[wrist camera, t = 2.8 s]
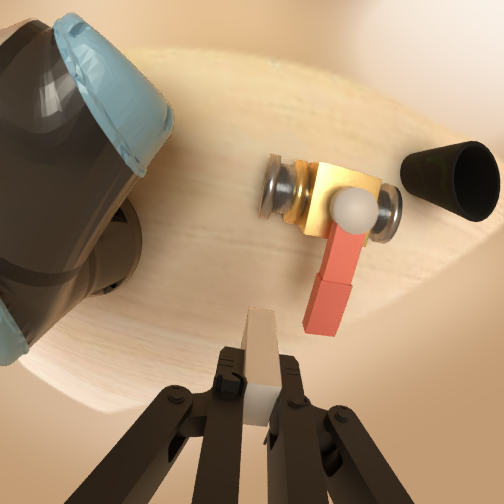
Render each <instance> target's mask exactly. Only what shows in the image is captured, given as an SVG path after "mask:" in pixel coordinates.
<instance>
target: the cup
mask: <svg viewBox="0 0 504 504" xmlns="http://www.w3.org/2000/svg"><path fill="white" fill-rule="evenodd" d="M400 176H401V181H402V184H403V186H404V187H405V189H406V190H407V191H408V192H409V193H410V194H412V195H414V196H417V197H419V198H422V199H424V200H426V201H429V202H431V203H433V204H435V205H438V206H440V207H442V208H444V209H446V210H448V211H451V212H453V213H455V214H457V215H459V216H461V217H463V218H465V219H467V220H469V221H473V222H479V221H483V220H484V219H486V218H487V217H488V216H489V215H490V214H491V213H492V212H493V210H494V208H495V207H496V204H497V201H498V199H499V193H500V174H499V169H498V166H497V163H496V160H495V158H494V156H493V154H492V153H491V152H490V150H489V149H488V148H487V147H486V146H485V145H483V144H482V143H479V142H477V141H468V142H463V143H458V144H454V145H449V146H444V147H439V148H435V149H430V150H426V151H422V152H417V153H413V154H410V155H409V156H407V157H406V158H405V159H404V161H403V163H402V165H401V170H400Z"/></svg>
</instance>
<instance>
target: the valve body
mask: <svg viewBox="0 0 504 504" xmlns="http://www.w3.org/2000/svg"><path fill="white" fill-rule="evenodd" d="M381 181H382V179H379V178H376V177H373V176H369V175H366V174H363V173H359V172H356V171H352V170H349V169H345V168H342V167H338V166H334V165H330V164H326V163H322V162H314V163H308V162H306V161H302V160H296V161H295V163H294V165H293V166H289V165H284V164H281V156H279V155H274V154H270V158H269V161H268V166H267V170H266V175H265V180H264V185H263V190H262V195H261V201H260V207H259V214H258V217H261V218H266V219H269V217H270V214H271V212H276V213H281V214H283V220H284V222H286V223H291V224H295V223H297V225H298V226H299V228H300V229H301V230H302V232H303V233H304V234H307V235H312V236H317V237H321V238H326V239H328V237H329V233H330V229H331V225H332V221H333V220H332V218H331V215H330V202H331V199H332V197H333V195H334V194H335V193H336V192H337V191H338V190H340V189H341V188H344V187H349V186H351V187H357V188H362V189H365V190H367V191H369V192H370V193H371V194H372V195H373V196H374V197H375V199H376V201H377V204H378V217H377V220H376V222H375V224H374V226H373V227H372V228H371V229H370V230H369V231H367V232H366V233H365V237H364V241H363V244H362V246H363V247H366V243H367V239H368V236H369V237H370V239H371V240H372V241H374V242H378V243H387V242H388V241H390V240H391V239H392V237H393V236H394V234H395V233H396V231H397V229H398V226H399V223H400V220H401V215H402V197H401V193H400V191H399V189H398V188H397V187H395V186H392V185H389V184H382V185H381Z"/></svg>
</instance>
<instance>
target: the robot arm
mask: <svg viewBox="0 0 504 504" xmlns="http://www.w3.org/2000/svg"><path fill="white" fill-rule="evenodd" d="M173 127H174V113H173V110H172V107H171V105H170V104H169V102H168V101H167V100H166V99H165V98H164V96H163V95H162V94H161V93H160V92H159V91H158V90H157V89H156V87H155V86H154V85H153V84H152V83H151V82H150V81H149V80H148V79H147V78H146V77H145V76H144V75H143V74H142V73H141V72H140V71H139V70H138V69H137V68H136V67H135V66H134V65H133V64H132V63H131V62H130V61H129V60H128V59H127V58H126V57H125V56H124V55H123V54H122V53H121V52H120V51H119V50H118V49H117V48H116V47H114V46H113V45H112V44H111V43H110V42H109V41H108V40H107V39H106V38H105V37H103V36H102V35H101V34H100V33H99V32H98V31H96V30H95V29H94V28H92V27H91V26H90V25H89V24H87V23H86V22H85V21H84V20H83V19H82V18H81V17H80V16H79V15H77V14H75V13H68V14H66V15H65V16H63V17H62V18H60V19H57V21H56V22H55V23H54V25H53V28H51V27H49V26H48V25H46V24H44V23H42V22H41V21H39V20H38V19H35V18H29V19H26V20H24V21H21V22H19V23H17V24H14V25H12V26H10V27H8V28H5V29H1V28H0V366H7V365H10V364H12V363H13V362H14V361H15V360H17V359H18V358H19V357H20V356H22V355H23V354H27V353H28V352H29V348H30V347H31V346H32V345H33V344H34V343H36V342H37V341H38V340H39V339H40V338H41V337H42V336H43V335H44V334H45V333H46V332H47V331H48V330H49V329H50V328H52V327H53V326H54V325H55V324H56V323H57V322H58V321H59V320H60V319H61V318H62V317H64V316H65V315H66V314H67V313H68V312H69V311H70V310H71V309H73V308H74V307H75V306H76V305H77V304H78V303H79V302H80V301H82V300H83V299H84V298H89V297H94V296H98V295H103V294H107V293H110V292H112V291H114V290H115V289H117V288H118V287H120V286H121V285H122V284H123V283H124V282H125V281H126V280H127V279H128V278H129V277H130V276H131V275H132V273H133V272H134V270H135V269H136V267H137V264H138V262H139V258H140V254H141V247H142V237H141V229H140V225H139V221H138V218H137V215H136V213H135V211H134V209H133V207H132V205H131V204H130V202H129V201H128V199H127V198H126V197H127V195H128V194H129V193H130V191H131V190H132V189H133V187H134V186H135V184H136V183H137V182H138V180H139V179H140V178H143V177H144V176H145V175H146V173H147V167H148V165H149V164H150V162H151V161H152V160H153V158H154V157H155V155H156V154H157V152H158V151H159V150H160V148H161V147H162V146H163V144H164V143H165V142H166V140H167V139H168V138H169V136H170V134H171V132H172V130H173ZM299 370H300V369H299V363H298V361H297V360H296V359H295V358H294V356H289V355H281V354H279V352H278V343H277V333H276V323H275V314H274V311H270V310H264V309H259V308H253V307H249V310H248V315H247V320H246V325H245V329H244V334H243V339H242V343H241V349H238V348H232V347H227V346H225V347H224V348H223V349H222V350H221V351H220V355H219V360H218V365H217V370H216V375H215V377H214V382H213V387H212V388H211V389H210V390H208V391H207V392H204V393H194V394H192V393H191V392H190V391H189V390H188V389H187V388H185V387H182V386H179V385H171V386H167V387H165V388H164V389H163V390H162V391H161V392H160V393H159V394H158V395H157V397H156V398H155V399H154V400H153V401H152V403H151V404H150V405H149V406H148V407H147V408H146V410H145V411H144V412H143V413H142V415H141V416H140V417H139V418H138V419H137V420H136V421H135V423H134V424H133V425H132V426H131V427H130V429H129V430H128V431H127V432H126V433H125V435H124V436H123V437H122V438H121V439H120V440H119V441H118V443H117V444H116V445H115V446H114V447H113V448H112V450H111V451H110V452H109V453H108V454H107V455H106V456H105V458H104V459H103V460H102V461H101V462H100V463H99V464H98V466H97V467H96V468H95V469H94V470H93V471H92V473H91V474H90V475H89V476H88V477H87V478H86V479H85V481H84V482H83V483H82V484H81V485H80V486H79V487H78V488H77V489H76V491H75V492H74V493H73V494H72V495H71V496H70V497H69V498H68V500H67V501H66V502H65V503H64V504H148V502H149V501H150V499H151V498H152V496H153V495H154V493H155V492H156V490H157V489H158V487H159V486H160V484H161V483H162V481H163V479H164V478H165V476H166V475H167V473H168V471H169V470H170V468H171V467H172V465H173V464H174V462H175V460H176V459H177V457H178V456H179V454H180V452H181V451H182V449H183V447H184V446H185V444H186V443H187V441H188V439H189V437H201V436H203V442H202V448H201V453H200V459H199V464H198V470H197V475H196V481H195V486H194V493H193V498H192V503H191V504H238V493H239V477H240V459H241V442H242V425H243V424H247V425H256V426H265V427H266V426H267V425H268V423H269V421H270V423H269V425H270V428H269V431H268V433H267V435H266V438H265V440H264V445H266V443H267V471H268V504H329V501H328V495H327V491H328V493H329V495H330V497H331V499H332V501H333V503H334V504H414V502H413V501H412V499H411V498H410V496H409V495H408V493H407V492H406V490H405V489H404V487H403V486H402V484H401V483H400V481H399V480H398V478H397V477H396V475H395V473H394V472H393V470H392V469H391V467H390V466H389V464H388V463H387V461H386V460H385V458H384V457H383V455H382V454H381V452H380V451H379V449H378V448H377V446H376V445H375V443H374V441H373V440H372V438H371V437H370V435H369V434H368V432H367V431H366V429H365V428H364V426H363V425H362V423H361V422H360V420H359V419H358V417H357V416H356V414H355V413H354V412H353V411H352V410H351V409H350V408H348V407H345V406H342V405H336V406H333V407H331V408H330V409H329V411H328V410H324V409H321V408H317V407H315V406H313V405H312V404H311V402H310V400H309V399H308V398H307V397H306V396H305V395H304V390H303V385H302V379H301V376H300V375H301V374H300V371H299Z"/></svg>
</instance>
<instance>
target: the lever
mask: <svg viewBox="0 0 504 504" xmlns="http://www.w3.org/2000/svg"><path fill="white" fill-rule="evenodd" d="M330 215H331V218H332V220H333V221H332V225H331V229H330V233H329V237H328V241H327V245H326V249H325V253H324V257H323V261H322V264H321V268H320V272H319V273H317V274H316V278H315V282H314V285H313V289H312V292H311V296H310V299H309V302H308V306H307V309H306V312H305V316H304V319H303V322H302V323H303V327H304V331H305V333H308V334H316V335H324V336H333V337H335V335H336V332H337V330H338V327H339V324H340V321H341V319H342V316H343V313H344V310H345V307H346V304H347V301H348V298H349V295H350V292H351V289H352V285H351V282H352V278H353V275H354V272H355V269H356V265H357V262H358V259H359V255H360V252H361V248H362V244H363V241H364V237H365V233H366V232H367V231H369V230H370V229H371V228H372V227H373V226H374V224H375V222H376V220H377V217H378V204H377V201H376V199H375V197H374V196H373V195H372V194H371V193H370V192H369V191H367V190H365V189H362V188H357V187H351V186H349V187H344V188H341V189H340V190H338V191H337V192H336V193H335V194H334V195H333V197H332V199H331V202H330Z"/></svg>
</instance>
